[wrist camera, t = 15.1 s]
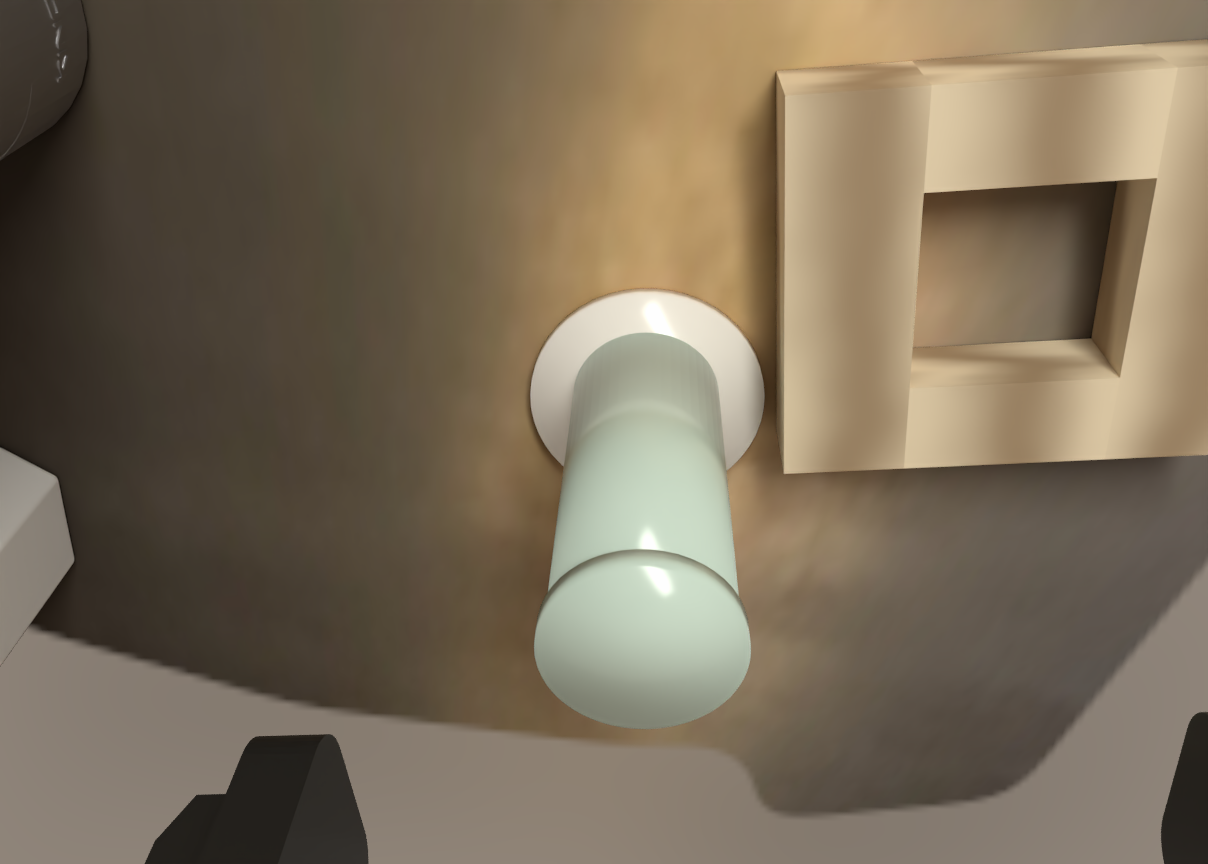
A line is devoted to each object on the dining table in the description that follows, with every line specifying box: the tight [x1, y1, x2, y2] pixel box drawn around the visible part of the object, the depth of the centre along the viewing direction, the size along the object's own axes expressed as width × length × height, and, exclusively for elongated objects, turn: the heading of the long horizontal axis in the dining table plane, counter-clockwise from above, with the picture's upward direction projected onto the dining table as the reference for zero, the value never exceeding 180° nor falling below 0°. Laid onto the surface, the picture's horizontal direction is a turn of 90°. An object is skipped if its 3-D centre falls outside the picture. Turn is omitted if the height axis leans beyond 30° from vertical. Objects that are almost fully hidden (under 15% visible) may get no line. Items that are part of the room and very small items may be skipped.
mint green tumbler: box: [534, 333, 751, 729], centre depth 37 cm, size 6×8×14 cm
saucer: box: [530, 288, 765, 470], centre depth 43 cm, size 9×9×1 cm
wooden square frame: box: [776, 39, 1208, 474], centre depth 38 cm, size 16×14×3 cm
